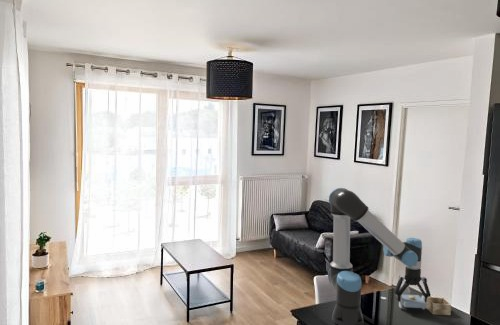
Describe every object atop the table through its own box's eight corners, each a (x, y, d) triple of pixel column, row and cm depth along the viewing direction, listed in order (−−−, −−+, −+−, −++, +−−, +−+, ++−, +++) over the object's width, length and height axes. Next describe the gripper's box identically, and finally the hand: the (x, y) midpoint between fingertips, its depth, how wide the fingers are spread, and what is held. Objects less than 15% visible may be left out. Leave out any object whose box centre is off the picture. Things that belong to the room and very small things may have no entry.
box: (432, 315, 190) (433, 303, 189) (425, 307, 199) (426, 296, 198) (450, 316, 189) (451, 304, 189) (442, 308, 198) (443, 297, 198)
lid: (404, 308, 189) (405, 300, 189) (397, 299, 200) (398, 292, 200) (426, 309, 188) (426, 301, 188) (418, 300, 199) (418, 293, 199)
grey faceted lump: (390, 295, 215) (391, 286, 210) (400, 286, 219) (401, 276, 213) (403, 305, 209) (404, 295, 203) (413, 296, 212) (414, 286, 207)
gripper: (393, 268, 190) (391, 309, 191) (439, 270, 189) (437, 312, 190) (388, 264, 198) (387, 303, 199) (432, 266, 196) (431, 306, 197)
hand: (411, 307), depth 194 cm, fingers closed on lid, 11 cm apart
